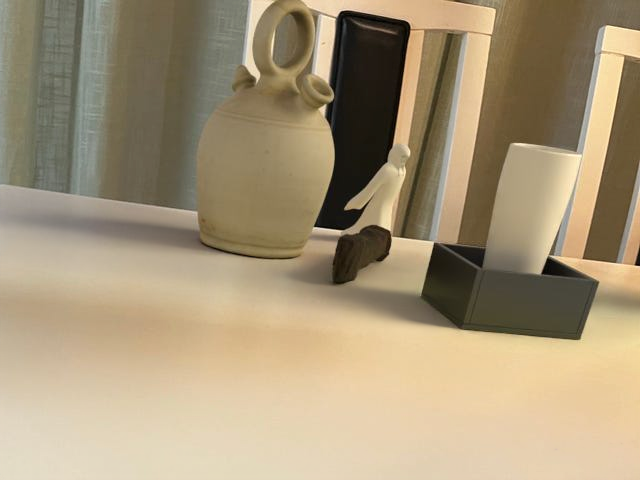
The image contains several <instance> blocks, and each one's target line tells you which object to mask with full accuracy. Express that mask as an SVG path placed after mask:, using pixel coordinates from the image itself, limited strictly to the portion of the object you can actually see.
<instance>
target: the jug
mask: <svg viewBox="0 0 640 480" xmlns="http://www.w3.org/2000/svg"><path fill="white" fill-rule="evenodd" d="M288 15H291V16H292V18H293V19H294V22H295V26H296V32H297V33H296V43H295V46H294V49H293V52H292V54H291V56H290V57H289V59H288V60H287V61H286V62H285V63H284V64H282V65H280V66H278V64H276V63H275V61H274V59H273V55H272V44H273V43H272V42H273V38H274V34H275V31H276V29H277V27H278V26H279V24H280V22H281V21H282V20H283V19H284V18H285V17H286V16H288ZM315 40H316V26H315V20H314V16H313V14H312V12H311V9H310V8H309V7H308V5H307V4H306V2H304V1H303V0H274V1H273V2H272V3H270V4H269V5H268V6H267V7H266V8H265V9H264V11H263V12H262V14H261V15H260V17H259V19H258V21H257V23H256V26H255V29H254V33H253V38H252V44H251V45H252V46H251V48H252V49H251V50H252V59H253V62H254V65H255V67H256V69H257V71H258V72H259V78H258V79H257V77H256V76H255V75H253V74H251V72H250V70H249V69H248V67H247V66H246V65H244V64H240V65H238V66H237V67H236V69H235V73H234V81H233V82H232V84H231V90H232V91H233V92H234V94H233V95H231V96H229V97H228V98H226V99H225V100H224V101H222V102H221V103H219V104H218V105H217V107H216V108H214V110H213V111H212V112H211V115H210V116H209V117H208V119H207V121H206V123H205V125H204V127H203V129H202V132H201V134H200V138H199V142H198V146H197V152H196V161H195V162H196V167H195V168H196V170H195V171H196V201H197V203H196V206H197V209H196V210H197V221H198V228H199V240H200V242H201V243H202V244H204V245H205V246H209V247H211V248H215V249H218V250H221V251H224V252H229V253H231V254H232V253H233V254H237V255H239V254H240V255H243V256H244V255H245V256H249V257H256V258H262V259H286V258H296V257H299V256H301V255H302V254H303V253H304V248H305V247H306V245H307V243H308V241H309V239H310V237H311V235H312V232H313V229H314V226H315V224H316V222H317V220H318V217H319V215H320V212H321V210H322V207H323V205H324V202H325V199H326V196H327V194H328V190H329V187H330V184H331V180H332V177H333V172H334V166H335V158H336V157H335V143H334V137H333V134H332V129H331V126H330V123H329V121H328V120H327V118H326V117H325V116H324V115H323V113H322V111H321V110H320V108H323V107H325V106H326V105H329V104H330V103H331V102H333V100H334V98H335V94H334V90H333V89H332V87H331V86H330V84H329V83H328V82H327V81H326V80H325V79H324V78H322V77H320V76H319V75H317V74H314V73H307V74H305V75H304V76H303V80H302V85H301V87H300V90H299V88H298V87H297V86H298V85H297V83H296V79H297V76H299V75H300V74H301V73H302V72H303V71H304V70H305V68H306V66H307V65H308V63H309V61H310V59H311V56H312V53H313V51H314V47H315V43H316V42H315Z"/></svg>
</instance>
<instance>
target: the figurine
mask: <svg viewBox="0 0 640 480" xmlns="http://www.w3.org/2000/svg"><path fill="white" fill-rule="evenodd" d="M410 156H411V149H410V148H409V146H408V145H407V144H405V143H402V142H398V143H396V144H394V145H393V146H392V148H391V149H390V150H389V153H388V155H387V162H385V163H384V164H383V165H382V166H381V168H380V169H379V170H378V171H377V172H376V173H375V175H374V176H373V177H372V179H371V180H370V181H369V182H368V184H367V185H366V186H365V187H364V188H363V189H362V190H361V191H360V192H359V193H357V194H356V195H355V196H354V197H352V198H351V199H350V200H349V201H348V202H347V203H346V205H345V207H344V208H343V210H344V211H348V210H353V209H355V210H361V209H362V208H363V207H364V206H365V205H366V204H367V203H368V204H367V205H366V207H364V210H363V212H362V214H361V216H360V217H359V218H358V220H357V221H356V222H355V223H354V224H353V225H352V226H351V227H348V228H346V229H344V230H342V231H340V233H339V234H340V236H343V235H345V234H350V235H353V234H356V233H359V232H360V230H361V229H362V228H364V227H366V226H369V225H378V226H380V227H383V228H385V229H387V230H389V231H390V233H391V234H392V231H391V229H392V214H393V213H392V212H393V206H394V203H395V202H396V200H397V198H398V196H399V194H400V191H401V190H402V187H403V183H404V181H405V179H406V174H407V170H406V163H407V162H408V159H409V158H410Z"/></svg>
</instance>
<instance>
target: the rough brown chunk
mask: <svg viewBox="0 0 640 480" xmlns="http://www.w3.org/2000/svg"><path fill="white" fill-rule="evenodd" d="M392 242H393V238H392V232H391V233H390V231H389V230H387V229H385V228H383V227H380V226H378V225H369V226H366V227H364V228H362V229H361V230H360V232H359V233H356V234H353V235H350V234H345V235H343V236H342V235H340V237H339V238H338V240H337V244H336V247H335V252H334V258H333V260H332V263H331V264H332V270H331V271H332V272H331V280H332V282H333V283H347V282H349V281H355V280H356V279H357V276H358V274H359V271H360V270H362V269H364V268H367V267H368V266H369V265H370V264H372V263H373V262H378V263H381V262H384V261H385V260H386V259H387V258H388V257H389V255H390V251H391V248H392Z"/></svg>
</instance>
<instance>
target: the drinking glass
mask: <svg viewBox="0 0 640 480" xmlns="http://www.w3.org/2000/svg"><path fill="white" fill-rule="evenodd" d="M582 158H583V154H582V153H580V152H578V151H573V150H570V149H566V148H565V149H564V148H558V147H553V146H547V145H541V144H540V145H539V144H533V143H532V144H531V143H523V142H522V143H521V142H511V143H510V144H509V145H508V149H507V151H506V156H505V158H504V162H503V165H502V169H501V173H500V176H499V179H498V183H497V187H496V193H495V197H494V202H493V207H492V213H491V218H490V224H489V229H488V234H487V239H486V245H485V247H486V250H485V255H484V260H483V266H482V269H493V270H502V271H512V272H522V273H532V274H541V273H542V270H543V268H544V265H545V262H546V260H547V257H548V256H550V252H551V250H552V247H553V245H554V242H555V239H556V237H557V235H558V231H559V230H560V226H561V224H562V222H563V219H564V216H565V213H566V211H567V209H568V206H569V203H570V201H571V197H572V195H573V192H574V188H575V185H576V181H577V178H578V175H579V170H580V167H581V162H582V160H583V159H582Z"/></svg>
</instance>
